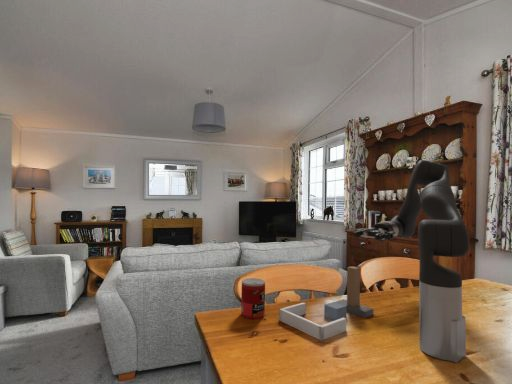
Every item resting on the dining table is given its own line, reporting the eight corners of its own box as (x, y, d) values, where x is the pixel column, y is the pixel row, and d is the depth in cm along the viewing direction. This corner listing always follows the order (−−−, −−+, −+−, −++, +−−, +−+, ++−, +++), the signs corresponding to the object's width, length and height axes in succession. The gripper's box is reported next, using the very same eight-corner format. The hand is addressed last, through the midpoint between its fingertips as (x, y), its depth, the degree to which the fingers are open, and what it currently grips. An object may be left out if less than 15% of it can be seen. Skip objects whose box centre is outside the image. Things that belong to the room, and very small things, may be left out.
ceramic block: (346, 318, 96) (346, 305, 96) (336, 321, 93) (337, 308, 93) (333, 313, 100) (333, 301, 100) (324, 316, 97) (324, 304, 97)
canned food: (255, 321, 91) (256, 285, 92) (236, 315, 96) (236, 281, 97) (269, 314, 97) (270, 280, 98) (250, 308, 102) (251, 276, 103)
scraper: (373, 314, 99) (373, 269, 100) (364, 318, 96) (364, 271, 97) (343, 304, 108) (343, 263, 109) (334, 307, 105) (334, 265, 106)
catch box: (346, 330, 86) (346, 318, 86) (321, 340, 79) (321, 327, 79) (303, 312, 99) (303, 302, 99) (279, 320, 93) (279, 309, 93)
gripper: (368, 220, 126) (348, 224, 115) (403, 223, 115) (384, 227, 104) (368, 238, 126) (348, 243, 115) (403, 242, 115) (384, 248, 104)
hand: (365, 236), depth 110 cm, fingers open, 8 cm apart
